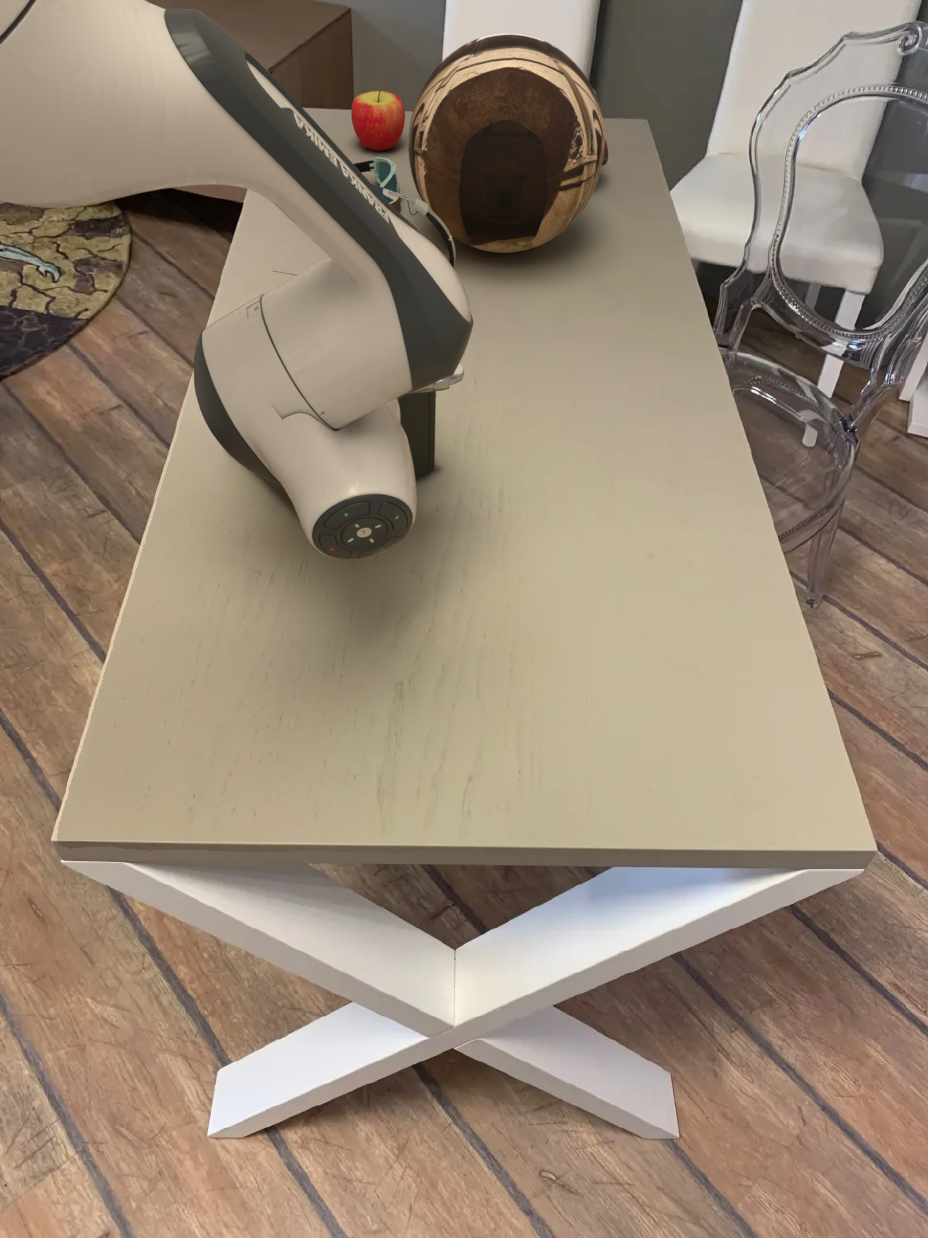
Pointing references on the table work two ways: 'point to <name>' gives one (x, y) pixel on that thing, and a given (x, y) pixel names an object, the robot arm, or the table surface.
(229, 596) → the table surface
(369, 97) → the apple
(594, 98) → the sphere
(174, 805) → the table surface
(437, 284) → the robot arm
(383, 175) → the sunglasses
